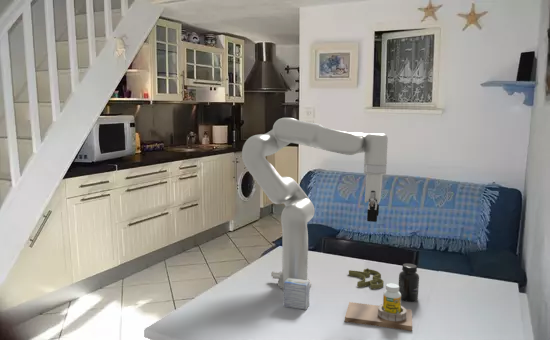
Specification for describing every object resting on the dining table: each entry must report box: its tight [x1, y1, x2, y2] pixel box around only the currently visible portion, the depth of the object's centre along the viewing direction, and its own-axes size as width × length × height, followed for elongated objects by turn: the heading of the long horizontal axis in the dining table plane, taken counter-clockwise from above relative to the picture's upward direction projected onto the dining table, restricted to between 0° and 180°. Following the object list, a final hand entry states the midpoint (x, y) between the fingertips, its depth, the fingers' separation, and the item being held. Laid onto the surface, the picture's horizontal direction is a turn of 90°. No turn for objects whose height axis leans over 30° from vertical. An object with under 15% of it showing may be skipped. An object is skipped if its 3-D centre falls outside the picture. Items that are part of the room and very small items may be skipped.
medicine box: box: [283, 278, 311, 310], centre depth 150 cm, size 8×4×9 cm, turn 71°
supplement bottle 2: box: [398, 263, 420, 303], centre depth 158 cm, size 7×7×12 cm
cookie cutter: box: [348, 267, 385, 290], centre depth 176 cm, size 18×12×2 cm, turn 6°
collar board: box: [344, 301, 413, 332], centre depth 142 cm, size 20×12×4 cm, turn 74°
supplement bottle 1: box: [382, 283, 402, 314], centre depth 141 cm, size 5×5×10 cm
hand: (372, 218), depth 156 cm, fingers open, 9 cm apart
